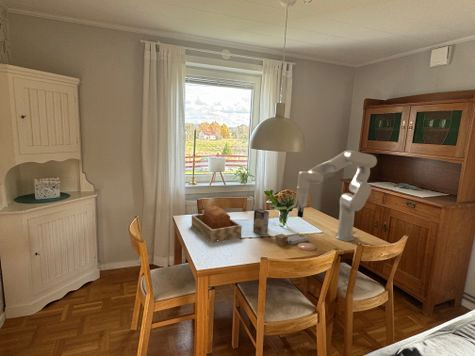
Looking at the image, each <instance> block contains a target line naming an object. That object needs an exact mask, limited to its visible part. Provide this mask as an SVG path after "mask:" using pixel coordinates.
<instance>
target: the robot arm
mask: <svg viewBox="0 0 475 356" xmlns="http://www.w3.org/2000/svg"><path fill="white" fill-rule="evenodd" d="M377 163H378V160H377V157H376V156H375V155H373V154H369V153H365V152H360V151H357V150H356V151H355V150H350V149H348V150H344V151H342V152H341V153H340V154H338V155H336V156H334V157H333V158H331V159H329V160H328V161H325V162H323V163H319V164H318V165H316V166H313V167H312V168H311V169H309V170H308V171H304V170H303V171H302V170H301V171H299V172H298V177H297V187H296V194H295V200H294V207H295V208H296V210H297V217H298V218H304V210H305V208H306V206H307V205H308V199H309V197H308V195H309V190H310V184H315V185H319V184H321V183H322V182H324V175H326V174H328V173H335V172H336V173H337V172H338V171H340V170H342V169H343V168H344V167H346V166H348V165H349V164H350V165H354V166H356V172H355V174H354V176H353V178H352V179H351V182H350V183H349V185H348V189H349V192H351V193H349V192H345V193H343V194H341V196H340V197H339V217H338V224H337V225H338V227H337V233H335V234H334V237H335V238H336V239H338V240H340V241H345V242H352V241H354V240H355V236H354V235H356V233H357V231H356V230H354V221H355V215H356V214H355V212H359V211H360V210H361V209H362V208H363V207H364V206H365V204H366V203H367V200H368V198H369V196H370V195H371V192H372V186H371V184H370V183H368V180H369V177H370V175H371V168H374V167H375V166H376V165H377ZM352 193H354V194H352Z"/></svg>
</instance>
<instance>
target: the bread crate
mask: <svg viewBox="0 0 475 356" xmlns="http://www.w3.org/2000/svg"><path fill="white" fill-rule="evenodd" d="M203 214H204V213H201V214H200V213H198V214H194V215H193V214H192V215H191V227H192V226H193V227H192V228H193V229H194V230H196V231H197V232H198V233H199V234H201V236H203V235H204V236H205V237H204V236H203V237H204V238H206V240H208V239H209V240H210V241H211V242H210V241H209V240H208V241H209V242H210V243H213V242H212V241H216V242H218V241H217V240H222V241H224V240H223V239H227V240H231V239H230V238H232V239H237V238H240V237H239V236H241V237H242V230H243V229H242V227H243V226H242V225H241V224H240V223H238V222H236V221H235V220H233V219H231V218H230V220H231V227H226V228H220V229H214V230H212V229H211V228H210V227H208V226H207V225H206V224H204V223H203ZM236 237H237V238H236Z"/></svg>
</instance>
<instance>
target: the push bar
mask: <svg viewBox="0 0 475 356" xmlns="http://www.w3.org/2000/svg"><path fill="white" fill-rule="evenodd" d="M299 238H303V237H302V236H300V235H299V236H298V235H294V236H290V237H288V242H287V244H286V245H292V244H291V240H295V239H299Z"/></svg>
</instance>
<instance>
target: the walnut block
mask: <svg viewBox="0 0 475 356" xmlns="http://www.w3.org/2000/svg"><path fill="white" fill-rule="evenodd" d="M287 242H288V236H286V234H284V233H279V234H275V244H277V245H278V246H280V247H282V246H287V245H288V244H287Z"/></svg>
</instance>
